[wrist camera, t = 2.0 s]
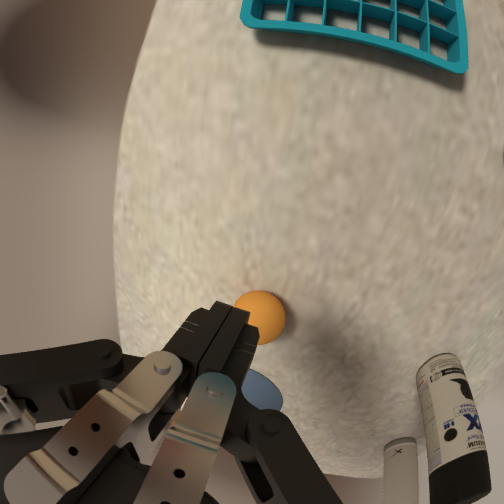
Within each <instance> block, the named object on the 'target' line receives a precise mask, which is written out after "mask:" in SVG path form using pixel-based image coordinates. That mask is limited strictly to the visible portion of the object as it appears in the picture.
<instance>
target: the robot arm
mask: <svg viewBox="0 0 504 504" xmlns="http://www.w3.org/2000/svg"><path fill="white" fill-rule="evenodd" d="M249 317H250V312H249V311H246V310H243V309H240V308H237V307H233V306H231V305H228V304H225V303H222V302H219V301H216V302H215V303H214V304H213V306H212V307H211V309H210V310H207V309H204V308H199V309H197V310H195V311H193V312H192V313H191V314H190V315H189V316H188V318H187V319H186V320H185V322H184V323H183V324H182V325H181V327H180V328H179V329H178V330H177V332H176V333H175V334H174V335H173V337H172V338H171V339H170V340H169V342H168V343H167V344H166V345H165V347H164V348H163V349H162V350H161V351H155V352H152V353H150V354H148V355H147V356H146V357H137V356H132V355H127V354H122V349H121V347H120V346H119V345H118V344H117V343H116V342H114V341H112V340H108V339H100V340H94V341H89V342H84V343H79V344H72V345H67V346H61V347H55V348H48V349H42V350H36V351H28V352H21V353H14V354H6V355H0V504H219V503H218V502H217V501H216V500H215V499H214V498H213V497H212V496H211V495H210V494H208V493H207V492H205V488H206V485H207V482H208V479H209V476H210V473H211V470H212V467H213V464H214V461H215V458H216V455H217V452H218V449H219V446H221V447H223V448H224V449H225V450H227V451H228V452H230V453H231V454H232V455H234V457H235V460H236V462H237V464H238V466H239V469H240V471H241V473H242V475H243V477H244V479H245V481H246V483H247V485H248V487H249V489H250V491H251V493H252V495H253V497H254V499H255V501H256V503H257V504H343V503H342V502H341V500H340V499H339V497H338V496H337V494H336V493H335V491H334V490H333V488H332V487H331V485H330V484H329V482H328V481H327V479H326V477H325V476H324V474H323V473H322V471H321V470H320V468H319V467H318V465H317V463H316V462H315V460H314V459H313V457H312V455H311V454H310V452H309V451H308V449H307V447H306V446H305V444H304V443H303V441H302V439H301V438H300V436H299V434H298V433H297V431H296V429H295V428H294V426H293V424H292V423H291V421H290V419H289V418H288V417H287V416H286V415H285V414H283V413H282V412H280V411H278V410H274V409H262V410H260V409H258V408H257V407H255V406H254V405H252V404H251V403H250V402H248V401H247V400H246V398H245V397H244V395H243V393H242V390H241V388H242V385H243V383H244V380H245V378H246V375H247V373H248V370H249V368H250V365H251V363H252V360H253V357H254V354H255V351H256V348H257V344H258V341H259V338H260V335H259V330H258V327H255V326H252V325H249V324H248V321H249ZM186 397H188V398H187V400H186V402H185V404H184V407H183V409H182V411H181V413H180V415H179V417H178V420H177V422H176V424H175V425H174V427H171V428H170V429H169V431H168V432H167V434H166V436H165V438H164V440H163V442H162V444H161V447H160V449H159V451H158V453H157V455H156V457H155V459H154V461H153V464H152V465H151V466H149V465H146V464H147V463H148V461H149V460H150V458H151V456H152V454H153V452H154V448H155V446H156V444H157V443H158V441H159V440H160V438H161V437H162V436H163V435H164V433H165V432H166V430H167V429H168V427H169V426H170V425H171V423H172V422H173V421H174V419H175V418H176V416H177V415H178V414H179V412H180V410H181V406H182V404H183V402H184V401H185V399H186ZM69 418H71V419H70V420H69V421H68V422H67V423H66V424H65V425H64V426H59V427H54V428H48V429H42V430H36V431H35V429H36V428H35V424H36V423H43V422H50V421H57V420H62V419H69Z"/></svg>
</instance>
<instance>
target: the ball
mask: <svg viewBox="0 0 504 504" xmlns="http://www.w3.org/2000/svg"><path fill="white" fill-rule="evenodd" d="M233 307H237V308H240V309H243V310H246V311H249V312H250V317H249V321H248V324H249V325H252V326H255V327H258V330H259V335H260V338H259V341H258V344H257V345H263V344H267V343H269V342H271V341H273V340H274V339H276V338H277V337H278V336H279V335H280V333H281V332H282V330H283V328H284V325H285V311H284V308H283V306H282V304H281V302H280V301H279V300H278V299H277V298H276V297H275V296H273V295H272V294H270V293H268V292H264V291H252V292H248V293H246V294H244V295H242V296H241V297H240V298H239V299H238V300H237V301H236V302H235V304H234V306H233Z"/></svg>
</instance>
